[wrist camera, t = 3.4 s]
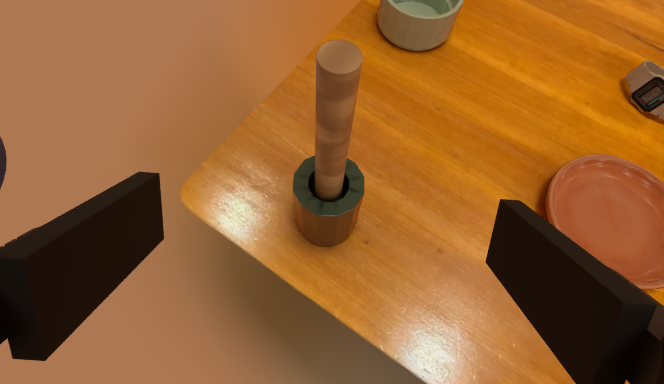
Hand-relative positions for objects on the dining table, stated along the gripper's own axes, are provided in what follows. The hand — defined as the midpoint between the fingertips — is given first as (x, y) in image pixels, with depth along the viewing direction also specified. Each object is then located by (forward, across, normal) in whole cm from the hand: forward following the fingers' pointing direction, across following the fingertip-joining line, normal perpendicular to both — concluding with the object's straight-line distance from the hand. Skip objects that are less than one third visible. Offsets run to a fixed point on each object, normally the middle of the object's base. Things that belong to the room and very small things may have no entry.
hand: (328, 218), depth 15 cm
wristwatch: (+42, +44, +4) cm, 61 cm away
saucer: (+28, +33, -10) cm, 44 cm away
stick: (+26, 0, -11) cm, 28 cm away
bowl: (+50, +11, +12) cm, 52 cm away
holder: (+26, 0, -11) cm, 29 cm away
